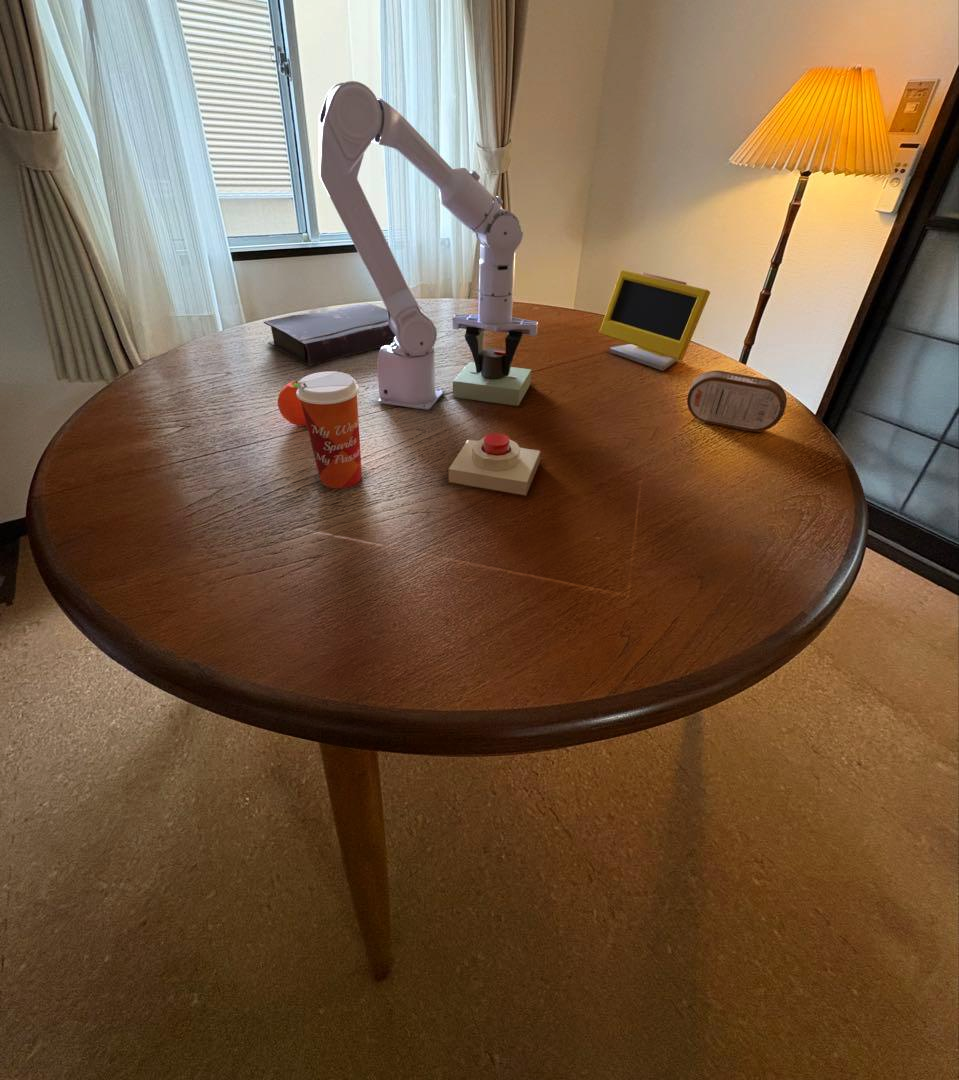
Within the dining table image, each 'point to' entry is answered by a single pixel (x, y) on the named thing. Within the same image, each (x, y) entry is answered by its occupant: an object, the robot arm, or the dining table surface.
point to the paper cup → (332, 426)
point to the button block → (495, 468)
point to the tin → (736, 400)
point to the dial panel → (492, 386)
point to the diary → (331, 333)
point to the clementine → (291, 404)
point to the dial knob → (493, 363)
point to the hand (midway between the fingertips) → (493, 372)
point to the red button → (496, 444)
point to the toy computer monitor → (653, 318)
